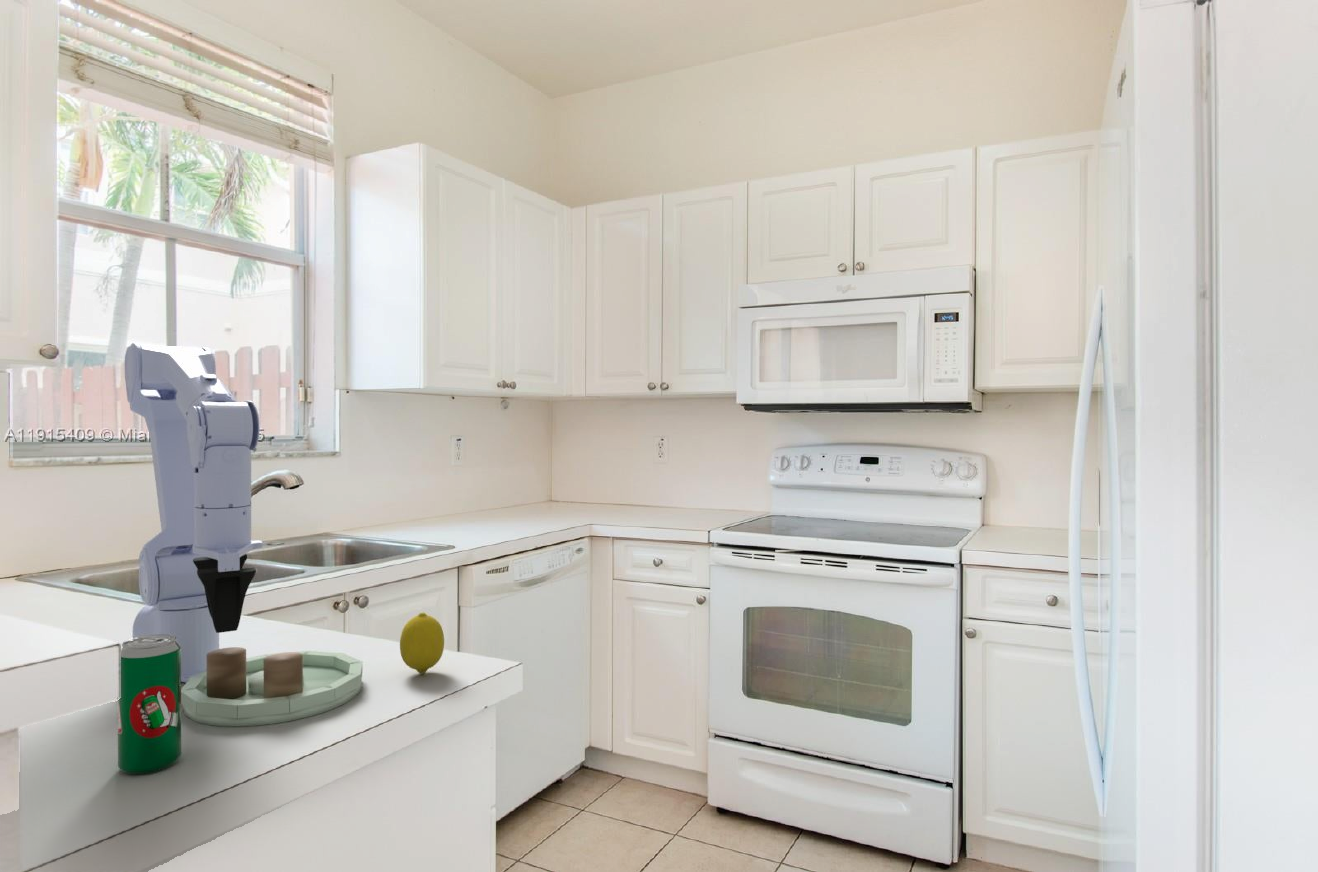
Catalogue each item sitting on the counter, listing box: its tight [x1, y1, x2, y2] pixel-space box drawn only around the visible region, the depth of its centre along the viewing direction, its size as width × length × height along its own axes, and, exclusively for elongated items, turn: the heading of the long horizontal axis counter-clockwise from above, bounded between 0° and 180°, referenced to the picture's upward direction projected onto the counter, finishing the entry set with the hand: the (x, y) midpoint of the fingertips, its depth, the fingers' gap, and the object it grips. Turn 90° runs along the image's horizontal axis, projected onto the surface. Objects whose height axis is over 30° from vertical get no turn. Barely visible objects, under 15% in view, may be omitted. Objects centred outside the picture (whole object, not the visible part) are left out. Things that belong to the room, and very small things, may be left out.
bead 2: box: [264, 651, 303, 699], centre depth 88 cm, size 4×4×5 cm
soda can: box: [117, 634, 182, 776], centre depth 74 cm, size 5×5×12 cm
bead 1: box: [207, 646, 247, 700], centre depth 90 cm, size 4×4×5 cm
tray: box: [181, 650, 363, 727], centre depth 93 cm, size 19×19×2 cm
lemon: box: [399, 612, 445, 675], centre depth 101 cm, size 6×6×8 cm
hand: (223, 623), depth 89 cm, fingers open, 7 cm apart
